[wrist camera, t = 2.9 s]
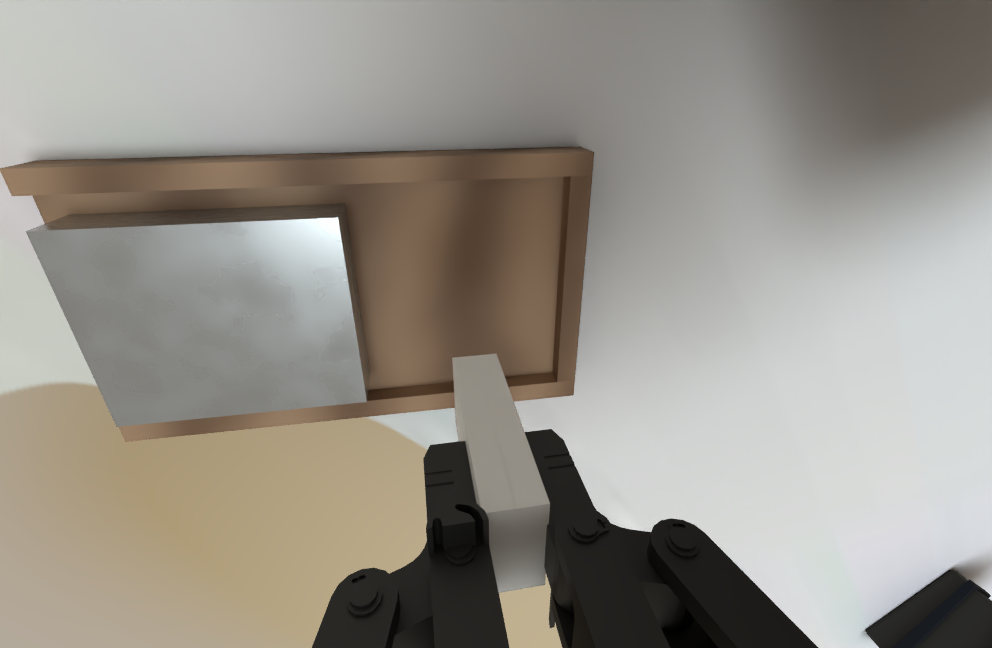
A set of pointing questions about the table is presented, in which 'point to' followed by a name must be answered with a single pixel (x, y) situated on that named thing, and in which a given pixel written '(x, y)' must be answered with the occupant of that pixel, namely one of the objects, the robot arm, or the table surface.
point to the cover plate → (211, 308)
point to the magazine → (939, 617)
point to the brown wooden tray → (391, 256)
